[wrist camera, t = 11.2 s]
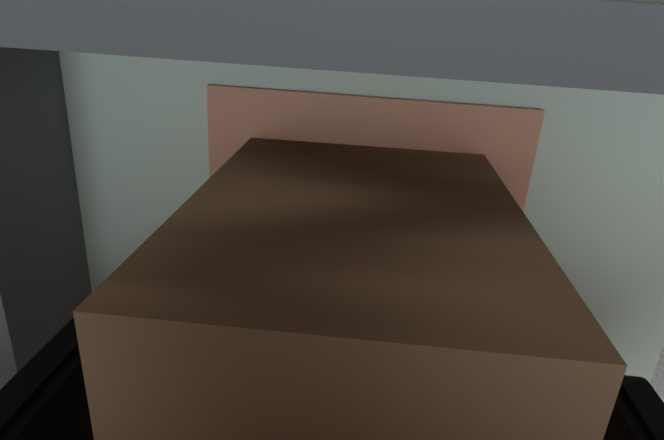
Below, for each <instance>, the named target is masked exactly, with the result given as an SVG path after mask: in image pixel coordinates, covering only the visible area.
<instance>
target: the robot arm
mask: <svg viewBox="0 0 664 440" xmlns="http://www.w3.org/2000/svg"><path fill="white" fill-rule="evenodd" d="M0 440H94V437H93V431H92V425H91V419H90V413H89V406H88V400H87V394H86V388H85V382H84V376H83V370H82V364H81V358H80V352H79V346H78V340H77V334H76V327H75V321H74V318H73V319H71V320H70V321H69V322H68V323H67V324H66V325H65V326H64V327H63V328H62V329H61V330H60V331H59V332H58V333H57V334H56V335H55V336H54V337H53V338H52V339H51V340H50V341H49V342H48V343H47V344H46V345H45V346H44V347H43V348H42V349H41V350H40V351H39V352H38V353H37V354H36V355H35V356H34V357H33V358H32V359H31V360H30V361H29V362H28V363H27V364H26V365H24V366H23V367H22V368H21V369H20V370H19V371H18V372H17V373H16V374H15V375H14V376H13V377H12V378H11V379H10V380H9V381H8V382H7V383H6V384H5V385H4V386H3V387H2V388H1V389H0ZM603 440H664V403H663V401H662V400H661V399H660V397H659V396H658V394H657V393H656V391H655V390H654V389H653V387H652V386H651V384H650V383H649V382H648V381H647V380H646V379H645V378H643V377H638V376H628V375H624V378H623V381H622V384H621V387H620V390H619V393H618V396H617V399H616V402H615V405H614V408H613V411H612V414H611V417H610V420H609V423H608V426H607V429H606V432H605V435H604V438H603Z"/></svg>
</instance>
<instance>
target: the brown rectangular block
mask: <svg viewBox="0 0 664 440" xmlns="http://www.w3.org/2000/svg"><path fill="white" fill-rule="evenodd" d="M73 315H74V321H75V327H76V334H77V340H78V346H79V352H80V358H81V364H82V370H83V376H84V382H85V388H86V394H87V400H88V406H89V413H90V419H91V425H92V431H93V437H94V440H603V438H604V435H605V432H606V429H607V426H608V423H609V420H610V417H611V414H612V411H613V408H614V405H615V402H616V399H617V396H618V393H619V390H620V387H621V384H622V381H623V378H624V375H625V371H626V368H627V364H626V363H625V361H624V360H623V358H622V357H621V355H620V354H619V352H618V351H617V350H616V348H615V347H614V345H613V344H612V342H611V341H610V339H609V338H608V336H607V335H606V333H605V332H604V330H603V329H602V327H601V326H600V324H599V323H598V322H597V320H596V319H595V317H594V316H593V314H592V313H591V311H590V310H589V308H588V307H587V305H586V304H585V302H584V301H583V299H582V298H581V296H580V295H579V294H578V292H577V291H576V289H575V288H574V286H573V285H572V283H571V282H570V280H569V279H568V277H567V276H566V274H565V273H564V271H563V270H562V268H561V267H560V266H559V264H558V263H557V261H556V260H555V258H554V257H553V255H552V254H551V252H550V251H549V249H548V248H547V246H546V245H545V243H544V242H543V240H542V239H541V238H540V236H539V235H538V233H537V232H536V230H535V229H534V227H533V226H532V224H531V223H530V221H529V220H528V218H527V217H526V215H525V214H524V212H523V211H522V210H521V208H520V207H519V205H518V204H517V202H516V201H515V199H514V198H513V196H512V195H511V193H510V192H509V190H508V189H507V187H506V186H505V184H504V183H503V182H502V180H501V179H500V177H499V176H498V174H497V173H496V171H495V170H494V168H493V167H492V165H491V164H490V162H489V161H488V159H487V158H486V156H485V155H484V154H470V153H456V152H443V151H429V150H415V149H401V148H388V147H374V146H360V145H347V144H333V143H319V142H306V141H292V140H278V139H265V138H250V139H249V140H248V141H247V142H246V143H245V144H244V145H243V146H242V147H241V148H240V149H239V150H238V151H237V152H236V153H235V154H234V155H233V156H232V157H231V158H229V159H228V160H227V161H226V162H225V163H224V164H223V165H222V166H221V167H220V168H219V169H218V170H217V171H216V172H215V173H214V174H213V175H212V176H211V177H210V178H209V179H208V180H207V181H206V182H205V183H204V184H203V185H202V186H201V187H200V188H199V189H198V190H197V191H196V192H195V193H194V194H193V195H192V196H191V197H189V198H188V199H187V200H186V201H185V202H184V203H183V204H182V205H181V206H180V207H179V208H178V209H177V210H176V211H175V212H174V213H173V214H172V215H171V216H170V217H169V218H168V219H167V220H166V221H165V222H164V223H163V224H162V225H161V226H160V227H159V228H158V229H157V230H156V231H155V232H154V233H153V234H152V235H151V236H150V237H148V238H147V239H146V240H145V241H144V242H143V243H142V244H141V245H140V246H139V247H138V248H137V249H136V250H135V251H134V252H133V253H132V254H131V255H130V256H129V257H128V258H127V259H126V260H125V261H124V262H123V263H122V264H121V265H120V266H119V267H118V268H117V269H116V270H115V271H114V272H113V273H112V274H111V275H110V276H108V277H107V278H106V279H105V280H104V281H103V282H102V283H101V284H100V285H99V286H98V287H97V288H96V289H95V290H94V291H93V292H92V293H91V294H90V295H89V296H88V297H87V298H86V299H85V300H84V301H83V302H82V303H81V304H80V305H79V306H78V307H77V308H76V309H75V310H74V311H73Z"/></svg>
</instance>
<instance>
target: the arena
mask: <svg viewBox="0 0 664 440" xmlns="http://www.w3.org/2000/svg"><path fill="white" fill-rule="evenodd" d="M250 138H265V139H278V140H292V141H306V142H319V143H333V144H347V145H360V146H374V147H388V148H401V149H415V150H429V151H443V152H456V153H470V154H484V155H485V156H486V158H487V159H488V161H489V162H490V164H491V165H492V167H493V168H494V170H495V171H496V173H497V174H498V176H499V177H500V179H501V180H502V182H503V183H504V184H505V186H506V187H507V189H508V190H509V192H510V193H511V195H512V196H513V198H514V199H515V201H516V202H517V204H518V205H519V207H520V208H521V210H522V211H523V212H524V214H525V215H526V217H527V218H528V220H529V221H530V223H531V224H532V226H533V227H534V229H535V230H536V232H537V233H538V235H539V236H540V238H541V239H542V240H543V242H544V243H545V245H546V246H547V248H548V249H549V251H550V252H551V254H552V255H553V257H554V258H555V260H556V261H557V263H558V264H559V266H560V267H561V268H562V270H563V271H564V273H565V274H566V276H567V277H568V279H569V280H570V282H571V283H572V285H573V286H574V288H575V289H576V291H577V292H578V294H579V295H580V296H581V298H582V299H583V301H584V302H585V304H586V305H587V307H588V308H589V310H590V311H591V313H592V314H593V316H594V317H595V319H596V320H597V322H598V323H599V324H600V326H601V327H602V329H603V330H604V332H605V333H606V335H607V336H608V338H609V339H610V341H611V342H612V344H613V345H614V347H615V348H616V350H617V351H618V352H619V354H620V355H621V357H622V358H623V360H624V361H625V363H626V364H627V368H626V371H625V375H628V376H638V377H643V378H645V379H646V380H647V381H648V382H649V383H650V382H651V380H652V377H653V374H654V371H655V369H656V366H657V363H658V361H659V358H660V355H661V352H662V350H663V347H664V4H656V3H640V2H624V1H607V0H0V389H1V388H2V387H3V386H4V385H5V384H6V383H7V382H8V381H9V380H10V379H11V378H12V377H13V376H14V375H15V374H16V373H17V372H18V371H19V370H20V369H21V368H22V367H23V366H24V365H26V364H27V363H28V362H29V361H30V360H31V359H32V358H33V357H34V356H35V355H36V354H37V353H38V352H39V351H40V350H41V349H42V348H43V347H44V346H45V345H46V344H47V343H48V342H49V341H50V340H51V339H52V338H53V337H54V336H55V335H56V334H57V333H58V332H59V331H60V330H61V329H62V328H63V327H64V326H65V325H66V324H67V323H68V322H69V321H70V320H71V319H73V318H74V315H73V311H74V310H75V309H76V308H77V307H78V306H79V305H80V304H81V303H82V302H83V301H84V300H85V299H86V298H87V297H88V296H89V295H90V294H91V293H92V292H93V291H94V290H95V289H96V288H97V287H98V286H99V285H100V284H101V283H102V282H103V281H104V280H105V279H106V278H107V277H108V276H110V275H111V274H112V273H113V272H114V271H115V270H116V269H117V268H118V267H119V266H120V265H121V264H122V263H123V262H124V261H125V260H126V259H127V258H128V257H129V256H130V255H131V254H132V253H133V252H134V251H135V250H136V249H137V248H138V247H139V246H140V245H141V244H142V243H143V242H144V241H145V240H146V239H147V238H148V237H150V236H151V235H152V234H153V233H154V232H155V231H156V230H157V229H158V228H159V227H160V226H161V225H162V224H163V223H164V222H165V221H166V220H167V219H168V218H169V217H170V216H171V215H172V214H173V213H174V212H175V211H176V210H177V209H178V208H179V207H180V206H181V205H182V204H183V203H184V202H185V201H186V200H187V199H188V198H189V197H191V196H192V195H193V194H194V193H195V192H196V191H197V190H198V189H199V188H200V187H201V186H202V185H203V184H204V183H205V182H206V181H207V180H208V179H209V178H210V177H211V176H212V175H213V174H214V173H215V172H216V171H217V170H218V169H219V168H220V167H221V166H222V165H223V164H224V163H225V162H226V161H227V160H228V159H229V158H231V157H232V156H233V155H234V154H235V153H236V152H237V151H238V150H239V149H240V148H241V147H242V146H243V145H244V144H245V143H246V142H247V141H248V140H249V139H250Z"/></svg>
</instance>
